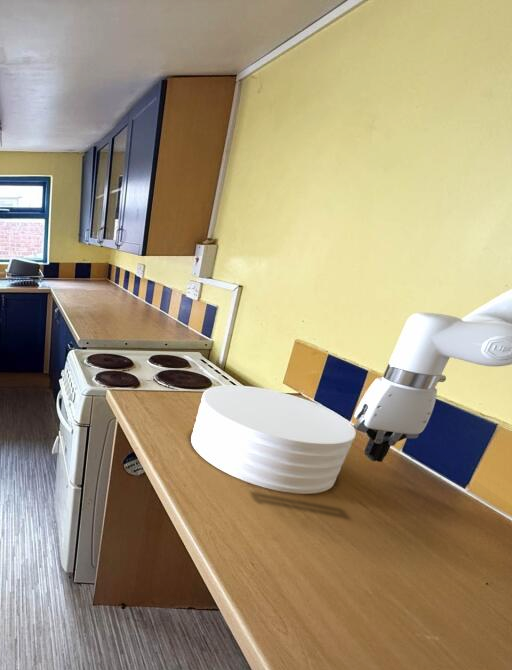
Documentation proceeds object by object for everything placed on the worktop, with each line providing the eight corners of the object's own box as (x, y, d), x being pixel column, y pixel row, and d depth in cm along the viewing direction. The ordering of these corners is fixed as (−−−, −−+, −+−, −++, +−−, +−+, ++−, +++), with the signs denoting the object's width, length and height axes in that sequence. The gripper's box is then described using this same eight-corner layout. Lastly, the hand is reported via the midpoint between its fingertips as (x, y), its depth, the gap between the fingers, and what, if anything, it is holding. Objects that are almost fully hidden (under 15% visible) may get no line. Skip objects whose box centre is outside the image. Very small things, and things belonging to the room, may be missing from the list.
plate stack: (354, 468, 88) (375, 421, 84) (302, 513, 73) (325, 459, 69) (227, 417, 109) (239, 377, 105) (166, 443, 94) (177, 399, 90)
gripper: (441, 376, 80) (402, 455, 87) (355, 366, 83) (324, 443, 90) (472, 389, 73) (427, 474, 80) (376, 379, 77) (341, 461, 83)
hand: (372, 457), depth 85 cm, fingers closed
